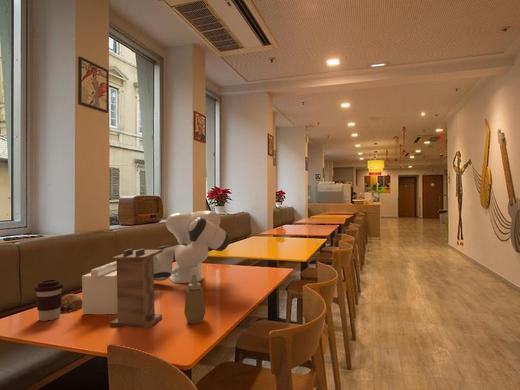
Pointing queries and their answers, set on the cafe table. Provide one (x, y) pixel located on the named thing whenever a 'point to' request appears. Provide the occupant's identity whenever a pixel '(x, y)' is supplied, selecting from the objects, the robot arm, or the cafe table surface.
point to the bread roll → (70, 302)
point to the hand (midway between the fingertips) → (130, 255)
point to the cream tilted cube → (100, 294)
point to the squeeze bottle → (194, 302)
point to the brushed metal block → (104, 269)
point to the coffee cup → (49, 299)
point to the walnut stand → (135, 289)
